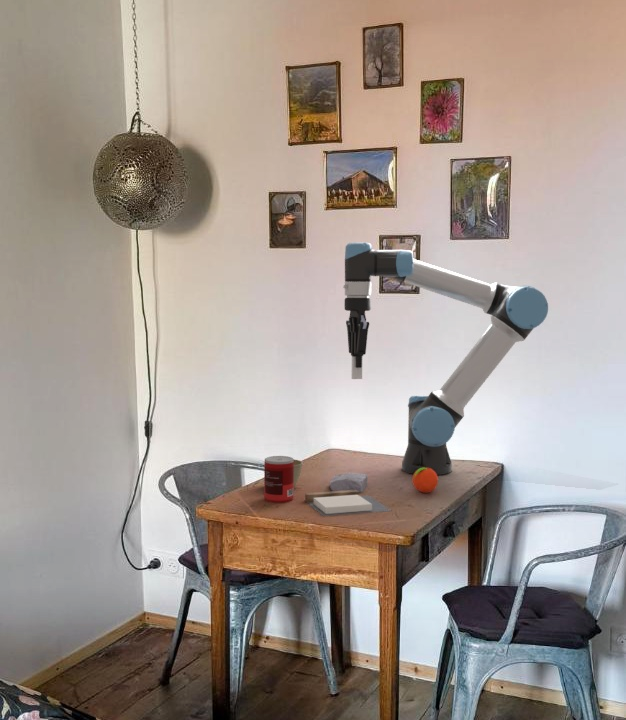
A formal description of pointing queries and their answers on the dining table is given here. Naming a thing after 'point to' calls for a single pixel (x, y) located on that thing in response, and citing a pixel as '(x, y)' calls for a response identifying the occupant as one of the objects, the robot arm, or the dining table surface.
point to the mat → (375, 508)
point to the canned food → (279, 479)
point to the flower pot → (297, 470)
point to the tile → (342, 504)
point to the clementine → (425, 479)
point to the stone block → (349, 482)
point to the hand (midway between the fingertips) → (356, 378)
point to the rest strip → (329, 494)
